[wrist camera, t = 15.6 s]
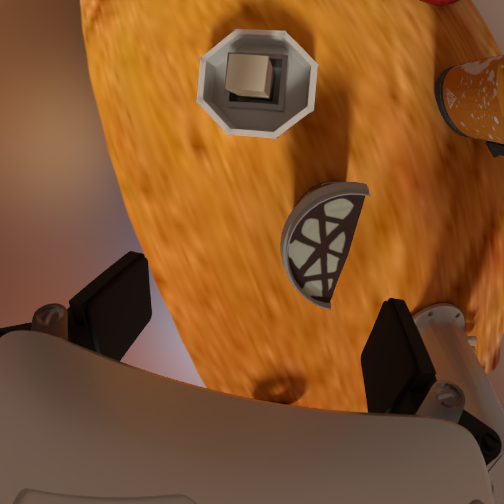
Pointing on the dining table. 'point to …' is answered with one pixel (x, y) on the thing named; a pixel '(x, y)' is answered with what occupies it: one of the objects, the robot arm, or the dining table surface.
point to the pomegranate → (439, 2)
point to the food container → (321, 237)
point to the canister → (475, 100)
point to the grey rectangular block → (250, 77)
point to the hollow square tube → (232, 103)
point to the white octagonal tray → (298, 85)
